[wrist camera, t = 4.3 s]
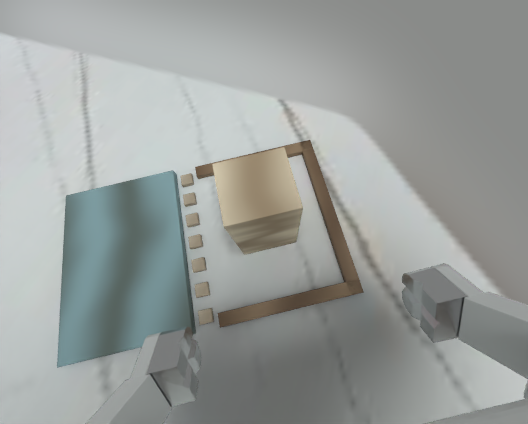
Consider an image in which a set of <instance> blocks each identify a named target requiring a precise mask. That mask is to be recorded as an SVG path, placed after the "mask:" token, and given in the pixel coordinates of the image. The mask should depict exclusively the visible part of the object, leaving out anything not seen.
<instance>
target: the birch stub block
mask: <svg viewBox="0 0 528 424" xmlns="http://www.w3.org/2000/svg"><path fill="white" fill-rule="evenodd" d="M212 165H213V171H214V176H215V182H216V187H217V193H218V198H219V204H220V209H221V215H222V220H223V226H224V228H225V229H226V230H227V232H228V233H229V235H230V236H231V237H232V239H233V240H234V241H235V243H236V244H237V245H238V247H239V248H240V249H241V251H242V252H243V253H244V255H245V254H249V253H253V252H258V251H262V250H266V249H270V248H274V247H278V246H282V245H286V244H291V243H295V242H296V240H297V235H298V230H299V225H300V220H301V215H302V210H303V206H302V203H301V200H300V197H299V193H298V190H297V187H296V184H295V180H294V177H293V174H292V170H291V167H290V164H289V161H288V157H287V154H286V151H285V148H284V147H282V148H278V149H274V150H269V151H265V152H261V153H257V154H253V155H248V156H244V157H240V158H236V159H231V160H227V161H223V162H219V163H215V164H212Z"/></svg>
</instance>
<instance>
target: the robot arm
mask: <svg viewBox="0 0 528 424" xmlns="http://www.w3.org/2000/svg"><path fill="white" fill-rule="evenodd" d="M402 283H403V284H404V285H405V286H406V287H405V288H404V289H403V291H402V299H403V302H404V305H405V307H406V309H407V311H408V312H409V313H410V315H411V316H412V317H414V318H416V319H418V320H420V327H421V328H422V330H423V331H424V332H425V333H426V335H427V336H428V337H429V338H430V339H431V341H432V342H433V343H435V342H440V341H444V340H449V339H454V338H458V339H459V340H461V341H463V342H464V343H466V344H468V345H470V346H471V347H473V348H475V349H477V350H478V351H480V352H482V353H483V354H485V355H487V356H489V357H490V358H492V359H494V360H496V361H497V362H499V363H501V364H502V365H504V366H506V367H508V368H509V369H511V370H513V371H515V372H516V373H518V374H520V375H521V376H523V377H525V378H527V379H528V305H527V304H524V303H521V302H518V301H515V300H512V299H509V298H506V297H503V296H500V295H497V294H494V293H491V292H486V293H484V292H483V291H481V290H480V289H479V288H477V287H476V286H475V285H474V284H472V283H471V282H470V281H468V280H467V279H466V278H465V277H463V276H462V275H461V274H459V273H458V272H457V271H456V270H454V269H453V268H452V267H451V266H449V265H448V264H445V263H444V264H440V265H436V266H432V267H428V268H424V269H420V270H416V271H412V272H408V273H404V274H403V276H402ZM192 336H193V332H192V330H191V328H190V327H183V328H178V329H174V330H169V331H164V332H161V333H156V334H152V335H148V336H147V337H146V338H145V340H144V343H143V346H142V348H141V351H140V353H139V356H138V359H137V361H136V364H135V367H134V369H133V372H132V374H131V377H130V379H128V380H125V381H124V382H123V383H122V385H121V386H120V387H119V388H118V389H117V390H116V391H115V392H114V393H113V394H112V395H111V397H110V398H109V399H108V400H107V401H106V402H105V403H104V404H103V405H102V406H101V407H100V409H99V410H98V411H97V412H96V413H95V414H94V415H93V416H92V417H91V418H90V419H89V421H88V422H87V423H86V424H163V423H164V421H165V420H166V418H167V416H168V415H169V413H170V411H171V410H172V408H171V407H174V406H178V405H182V404H185V403H189V402H193V401H196V396H197V389H198V379H197V377H196V374H197V372H198V371H199V369H200V366H201V352H200V348H199V345H198V342H197V341H196V340H194V339H192ZM524 398H525V399H523V400H519V401H515V402H511V403H507V404H503V405H499V406H494V407H490V408H486V409H482V410H478V411H474V412H470V413H466V414H461V415H457V416H453V417H449V418H445V419H441V420H437V421H433V422H428V423H424V424H528V381H527V384H526V387H525V390H524Z"/></svg>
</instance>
